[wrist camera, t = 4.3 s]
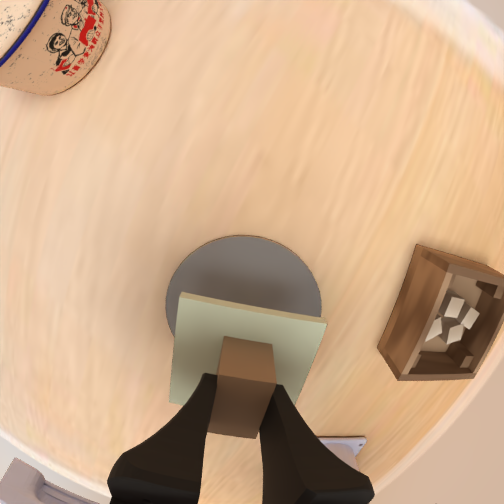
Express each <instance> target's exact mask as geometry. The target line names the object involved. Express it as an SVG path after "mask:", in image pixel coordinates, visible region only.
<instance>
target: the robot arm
mask: <svg viewBox="0 0 504 504" xmlns="http://www.w3.org/2000/svg"><path fill="white" fill-rule="evenodd" d="M217 378H218V375H215V374H210V373H203V374H202V377H201V380H200V382H199V384H198V386H197V387H196V389H195V391H194V392H193V394H192V395H191V397H190V398H189V399H188V401H187V402H186V403H185V405H184V406H183V407H182V408H181V409H180V411H179V412H178V413H177V414H176V415H175V416H174V417H173V418H172V419H171V420H170V421H169V422H168V423H167V424H166V425H165V426H164V427H162V428H161V429H160V430H159V431H158V432H156V433H155V434H154V435H152V436H151V437H150V438H148V439H147V440H145V441H144V442H142V443H141V444H139V445H137V446H136V447H134V448H132V449H130V450H128V451H126V452H124V453H123V454H122V455H121V456H120V457H119V459H118V460H117V461H116V463H115V464H114V466H113V468H112V470H111V472H110V475H109V477H108V480H107V484H108V487H109V490H110V493H111V495H112V498H111V501H110V504H198V500H199V495H200V488H201V478H202V467H203V457H204V448H205V439H206V435H207V431H208V427H209V423H210V418H211V413H212V409H213V404H214V399H215V394H216V390H217ZM259 433H260V443H261V453H262V462H263V501H262V504H369V502H370V501H371V500H372V499H373V497H374V495H375V493H374V490H373V487H372V484H371V482H370V479H369V477H368V476H366V475H364V474H362V473H361V472H360V471H359V468H358V465H357V462H356V458H355V457H356V455H357V454H358V453H359V451H360V450H361V449H362V447H363V446H364V445H365V443H366V442H367V439H366V438H365V437H355V438H317V437H316V435H315V434H314V433H313V432H312V431H311V429H310V428H309V427H308V425H307V424H306V423H305V421H304V420H303V418H302V417H301V415H300V414H299V412H298V411H297V409H296V407H295V406H294V404H293V402H292V401H291V399H290V397H289V395H288V393H287V391H286V390H285V388H284V386H283V385H281V384H276V387H275V390H274V392H273V393H272V396H271V399H270V402H269V404H268V407H267V410H266V412H265V415H264V418H263V420H262V423H261V425H260V428H259ZM0 503H1V504H99V503H96V502H94V501H91V500H88V499H86V498H83V497H81V496H79V495H76V494H74V493H72V492H69V491H67V490H65V489H63V488H61V487H59V486H56V485H54V484H52V483H50V482H48V481H46V480H45V478H44V476H43V475H42V473H40V472H39V471H38V470H37V469H35V468H34V467H32V466H30V465H28V464H26V463H25V462H23V461H21V460H19V459H18V458H14V459H13V461H12V463H11V464H10V466H9V468H8V469H7V471H6V473H5V475H4V476H3V478H2V480H1V482H0Z"/></svg>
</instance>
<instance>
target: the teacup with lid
mask: <svg viewBox="0 0 504 504" xmlns="http://www.w3.org/2000/svg"><path fill="white" fill-rule="evenodd" d="M109 33H110V16H109V13H108V11H107V9H106V8H105V6H104V5H103V4H102V3H101V2H100V1H99V0H0V86H3V87H8V88H12V89H17V90H22V91H26V92H30V93H35V94H39V95H53V94H57V93H60V92H62V91H64V90H66V89H68V88H70V87H71V86H73V85H74V84H76V83H77V82H78V81H79V80H81V79H82V78H83V77H84V76H85V75H86V74H87V73H88V72H89V71H90V70H91V68H92V67H93V66H94V65H95V63H96V62H97V60H98V59H99V57H100V56H101V54H102V52H103V50H104V48H105V46H106V43H107V41H108V37H109Z"/></svg>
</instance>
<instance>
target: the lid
mask: <svg viewBox="0 0 504 504" xmlns="http://www.w3.org/2000/svg"><path fill="white" fill-rule="evenodd" d="M326 327H327V322H326V320H325V318H320V317H314V316H308V315H301V314H295V313H289V312H284V311H278V310H272V309H266V308H261V307H255V306H250V305H245V304H240V303H234V302H229V301H224V300H219V299H214V298H209V297H204V296H200V295H195V294H190V293H186V292H182V293H181V295H180V297H179V304H178V312H177V320H176V329H175V339H174V348H173V359H172V370H171V382H170V395H169V402H170V403H175V404H179V405H185V403H186V402H187V401H188V399H189V398H190V397H191V395H192V394H193V392H194V391H195V389H196V387H197V386H198V384H199V382H200V380H201V377H202V374H203V373H210V374H215V375H218V378H217V390H216V394H215V399H214V404H213V409H212V413H211V418H210V423H209V427H208V431H207V432H210V433H216V434H222V435H229V436H236V437H243V438H252V439H256V437H257V434H258V432H259V428H260V425H261V423H262V420H263V418H264V415H265V412H266V410H267V407H268V404H269V402H270V399H271V396H272V393H273V392H274V390H275V387H276V384H281V385H283V386H284V388H285V390H286V391H287V393H288V395H289V397H290V399H291V401H292V402H293V404H294V406H295V403H296V401H297V399H298V397H299V394H300V392H301V390H302V387H303V385H304V383H305V380H306V378H307V375H308V373H309V371H310V368H311V366H312V363H313V361H314V358H315V356H316V353H317V350H318V348H319V345H320V343H321V340H322V337H323V335H324V332H325V329H326Z"/></svg>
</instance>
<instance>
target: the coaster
mask: <svg viewBox="0 0 504 504" xmlns="http://www.w3.org/2000/svg"><path fill="white" fill-rule="evenodd" d="M182 292H186V293H190V294H195V295H200V296H204V297H209V298H214V299H219V300H224V301H229V302H234V303H240V304H245V305H250V306H255V307H261V308H266V309H272V310H278V311H284V312H289V313H295V314H301V315H308V316H314V317H321V297H320V291H319V288H318V286H317V283H316V281H315V279H314V277H313V275H312V273H311V271H310V270H309V268H308V267H307V265H306V264H305V263H304V262H303V261H302V260H301V259H300V258H299V257H298V256H297V255H296V254H295V253H294V252H292V251H291V250H290V249H288V248H286V247H285V246H283V245H281V244H279V243H277V242H275V241H272V240H269V239H266V238H262V237H257V236H250V235H237V236H228V237H224V238H220V239H216V240H214V241H211V242H209V243H206V244H205V245H203V246H201V247H199V248H198V249H196V250H195V251H194V252H192V253H191V254H190V255H189V256H188V257H187V258H186V259H185V260H184V261H183V262H182V263H181V265H180V266H179V267H178V269H177V270H176V272H175V274H174V275H173V277H172V279H171V281H170V284H169V287H168V290H167V296H166V315H167V320H168V324H169V327H170V329H171V332H172V334H173V336H174V337H175V329H176V320H177V312H178V304H179V297H180V295H181V293H182Z"/></svg>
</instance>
